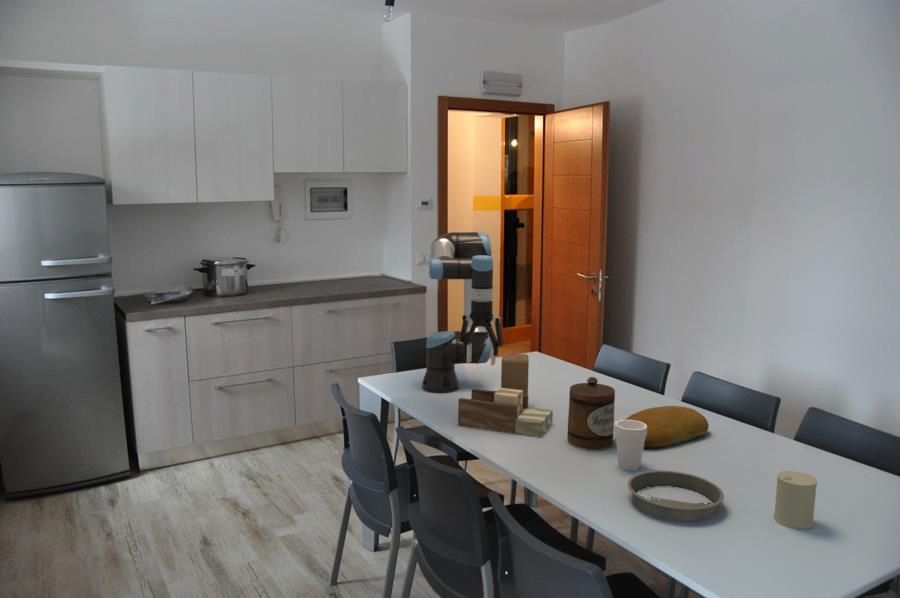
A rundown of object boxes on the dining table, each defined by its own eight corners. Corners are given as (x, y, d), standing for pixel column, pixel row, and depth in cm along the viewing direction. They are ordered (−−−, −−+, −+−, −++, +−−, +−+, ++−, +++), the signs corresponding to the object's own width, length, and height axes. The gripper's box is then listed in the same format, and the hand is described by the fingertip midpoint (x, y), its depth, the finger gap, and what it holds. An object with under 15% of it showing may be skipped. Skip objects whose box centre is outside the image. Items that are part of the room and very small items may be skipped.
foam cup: (627, 474, 211) (629, 431, 208) (606, 463, 219) (608, 422, 217) (651, 468, 215) (653, 427, 213) (630, 458, 223) (632, 418, 221)
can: (766, 513, 186) (770, 469, 184) (800, 512, 187) (804, 468, 185) (785, 530, 177) (789, 484, 175) (821, 528, 178) (825, 483, 176)
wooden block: (527, 404, 277) (528, 353, 274) (527, 412, 267) (528, 360, 264) (501, 403, 278) (502, 352, 275) (500, 411, 268) (501, 359, 265)
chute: (473, 413, 266) (473, 388, 264) (552, 423, 254) (552, 397, 253) (458, 425, 252) (458, 399, 250) (541, 437, 241) (541, 410, 239)
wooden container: (597, 453, 227) (600, 386, 223) (558, 442, 237) (560, 377, 233) (621, 441, 237) (624, 377, 234) (582, 430, 247) (585, 369, 244)
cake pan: (743, 518, 184) (744, 501, 183) (659, 530, 177) (660, 513, 176) (686, 480, 207) (687, 465, 206) (610, 490, 200) (610, 475, 199)
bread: (718, 436, 244) (720, 407, 242) (644, 455, 226) (645, 425, 224) (676, 420, 259) (678, 394, 258) (604, 437, 242) (605, 409, 240)
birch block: (501, 406, 257) (501, 387, 256) (522, 409, 254) (523, 390, 253) (493, 413, 250) (494, 393, 249) (515, 416, 247) (516, 396, 246)
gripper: (449, 299, 250) (449, 362, 254) (507, 303, 242) (506, 368, 246) (457, 296, 257) (457, 358, 261) (514, 300, 249) (512, 363, 253)
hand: (481, 363), depth 253 cm, fingers open, 8 cm apart
